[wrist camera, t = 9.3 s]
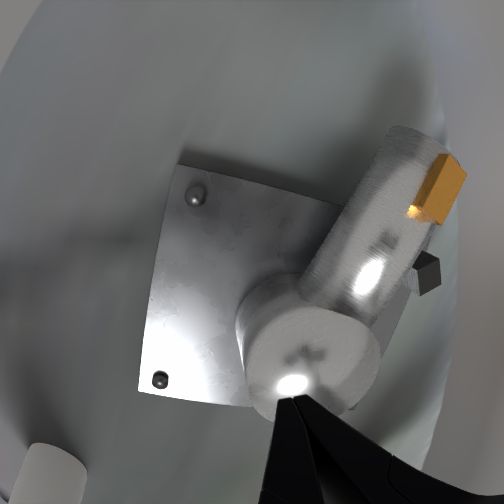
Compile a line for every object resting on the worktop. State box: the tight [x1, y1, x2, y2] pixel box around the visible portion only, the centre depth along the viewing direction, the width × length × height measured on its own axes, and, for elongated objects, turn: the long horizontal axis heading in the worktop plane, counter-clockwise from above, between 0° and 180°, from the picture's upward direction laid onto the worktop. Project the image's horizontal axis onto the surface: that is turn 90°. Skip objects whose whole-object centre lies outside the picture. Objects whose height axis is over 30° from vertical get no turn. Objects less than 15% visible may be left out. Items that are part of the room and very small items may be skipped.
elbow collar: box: [235, 126, 467, 422], centre depth 17 cm, size 16×7×6 cm, turn 149°
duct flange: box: [139, 164, 441, 410], centre depth 20 cm, size 16×18×3 cm
